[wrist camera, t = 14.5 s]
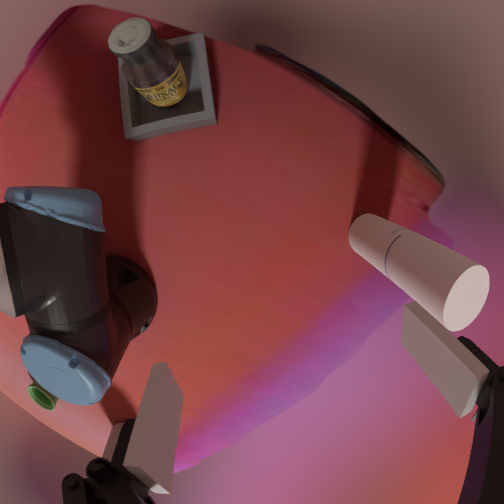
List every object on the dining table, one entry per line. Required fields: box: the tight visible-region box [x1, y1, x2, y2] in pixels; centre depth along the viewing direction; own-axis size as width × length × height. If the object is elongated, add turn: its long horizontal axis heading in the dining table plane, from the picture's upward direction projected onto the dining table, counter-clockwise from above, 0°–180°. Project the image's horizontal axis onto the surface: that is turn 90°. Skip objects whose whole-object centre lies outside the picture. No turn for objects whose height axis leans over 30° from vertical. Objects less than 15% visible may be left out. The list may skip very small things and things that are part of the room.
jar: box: [102, 422, 125, 462], centre depth 48 cm, size 10×10×18 cm
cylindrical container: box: [348, 214, 489, 331], centre depth 33 cm, size 7×7×25 cm
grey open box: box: [118, 32, 217, 141], centre depth 33 cm, size 12×13×6 cm
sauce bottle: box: [108, 17, 188, 108], centre depth 25 cm, size 7×6×20 cm
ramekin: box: [28, 380, 58, 411], centre depth 50 cm, size 9×9×4 cm
